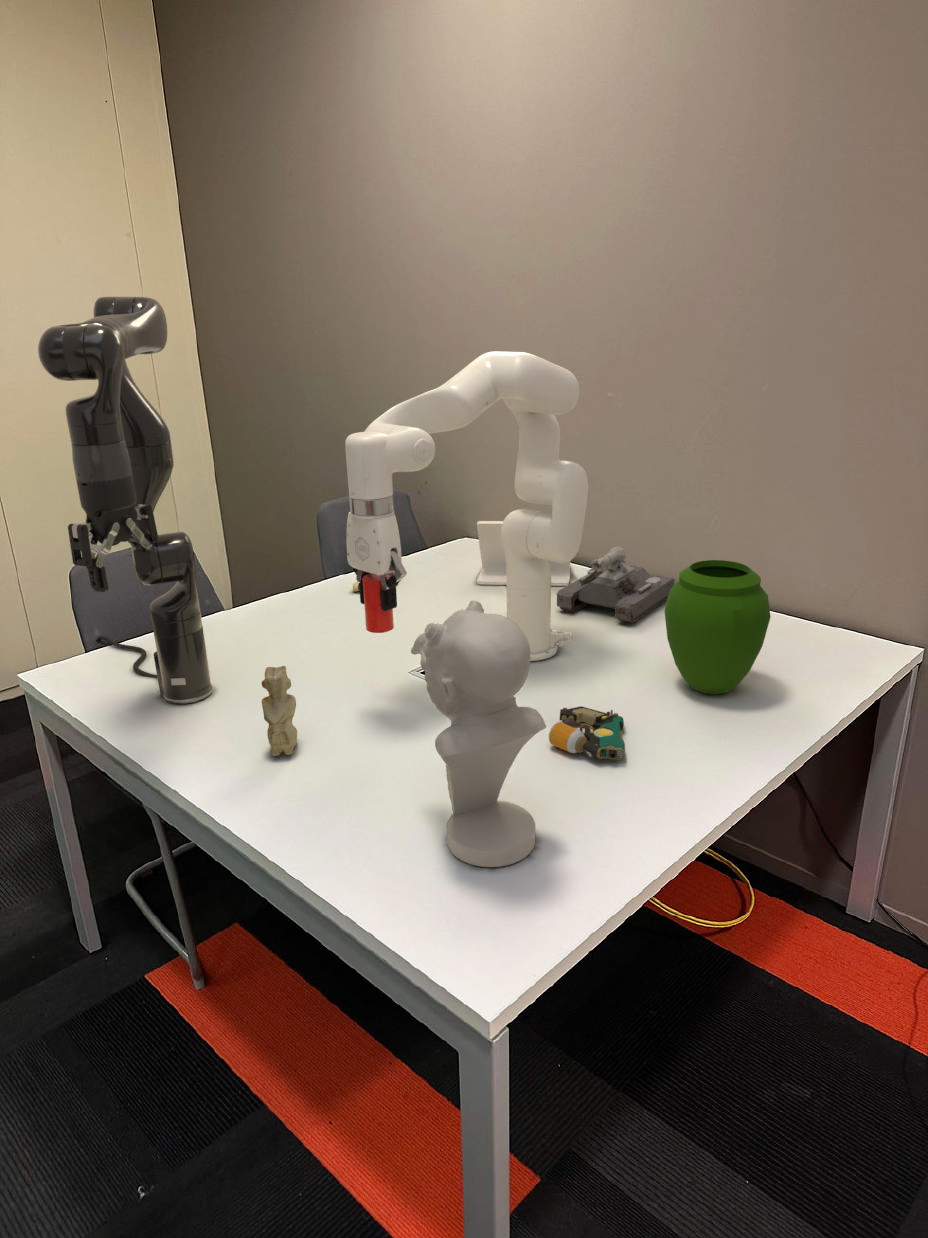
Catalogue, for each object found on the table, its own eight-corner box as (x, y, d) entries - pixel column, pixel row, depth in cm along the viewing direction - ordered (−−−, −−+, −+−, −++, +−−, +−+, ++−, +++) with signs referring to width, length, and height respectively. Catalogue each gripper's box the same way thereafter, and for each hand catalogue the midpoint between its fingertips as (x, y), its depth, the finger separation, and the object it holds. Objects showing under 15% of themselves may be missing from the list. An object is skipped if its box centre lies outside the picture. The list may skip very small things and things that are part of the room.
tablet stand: (569, 585, 229) (570, 524, 223) (476, 584, 232) (475, 523, 226) (570, 566, 246) (571, 508, 240) (484, 564, 249) (483, 507, 243)
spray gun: (565, 715, 160) (645, 732, 154) (534, 751, 146) (620, 771, 140) (567, 694, 159) (647, 710, 153) (536, 729, 144) (623, 748, 138)
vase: (773, 678, 171) (786, 561, 163) (746, 717, 156) (759, 591, 147) (679, 659, 181) (686, 549, 173) (645, 694, 166) (651, 575, 157)
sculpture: (303, 738, 153) (295, 661, 148) (297, 758, 146) (289, 679, 141) (270, 740, 153) (261, 663, 148) (263, 760, 146) (253, 680, 141)
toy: (603, 584, 229) (605, 530, 224) (673, 597, 218) (677, 540, 213) (555, 612, 210) (556, 553, 205) (630, 627, 199) (633, 566, 194)
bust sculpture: (481, 772, 140) (476, 569, 128) (565, 848, 120) (569, 617, 108) (392, 800, 134) (378, 588, 121) (465, 886, 114) (457, 642, 101)
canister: (384, 634, 151) (381, 582, 148) (360, 630, 153) (356, 579, 150) (398, 625, 155) (395, 574, 152) (375, 621, 157) (371, 571, 154)
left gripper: (121, 463, 129) (139, 566, 135) (43, 482, 117) (66, 594, 123) (160, 466, 126) (176, 571, 132) (84, 485, 114) (105, 600, 120)
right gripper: (324, 503, 149) (332, 600, 156) (388, 517, 138) (394, 622, 145) (357, 495, 154) (364, 590, 161) (421, 508, 143) (426, 610, 150)
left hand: (123, 582), depth 127 cm, fingers open, 8 cm apart
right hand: (378, 604), depth 153 cm, fingers closed on canister, 5 cm apart
